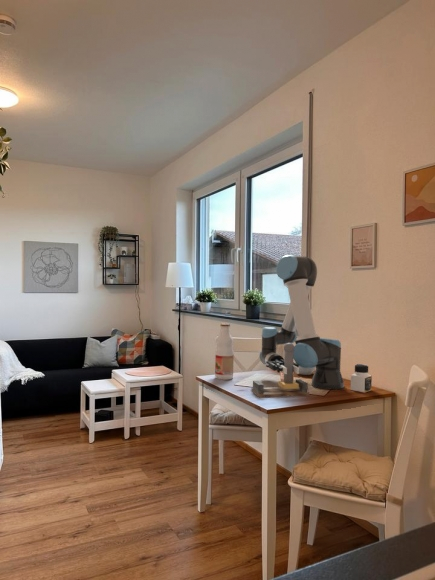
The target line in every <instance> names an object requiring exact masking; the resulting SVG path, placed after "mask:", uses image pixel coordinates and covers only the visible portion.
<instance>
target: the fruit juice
mask: <svg viewBox="0 0 435 580" xmlns="http://www.w3.org/2000/svg"><path fill="white" fill-rule="evenodd" d="M230 328H231V324H230V323H220V333H219V335H217V337H216V339H215V343H216V348H215V355H214V356H215V357H214V359H215V360H214V361H215V364H214V366H215V367H214V377H215V379H217V380H224V381H226V380H231V379H233V378H234V354H235V352H234V347H233V345H234V343H235V341H234V337H233V335H231V332H230V331H231V330H230Z"/></svg>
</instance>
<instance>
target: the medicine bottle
mask: <svg viewBox="0 0 435 580" xmlns="http://www.w3.org/2000/svg"><path fill="white" fill-rule="evenodd" d="M372 378H373V377H372V375H371V374H369V365H367V364H363V363H362V364H361V363H358V364H355V365H354V373H353V374H350V390H351V391H353V392H360V393H364V394H365V393H367V392H370V391H372Z"/></svg>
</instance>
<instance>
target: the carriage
mask: <svg viewBox="0 0 435 580" xmlns="http://www.w3.org/2000/svg"><path fill="white" fill-rule="evenodd" d="M283 345H284V346H283V351H284V358H283V359H284V367H286V368H287V374H284V373H283V380H278V381H277V386H278V387H281V388H283V389H299V384H298V383H296V382H295V381H294V372H293V362H294V358H293V356H294V349H295V347H294V346H295V345H294V343H286V344H283Z"/></svg>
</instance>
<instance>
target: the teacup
mask: <svg viewBox="0 0 435 580" xmlns="http://www.w3.org/2000/svg"><path fill="white" fill-rule="evenodd" d="M295 363H296V362H295ZM296 364H297V363H296ZM315 370H316V367H313V368H303V367H300V366H299V374H298V375H302V376H307V375H308V376H309V375H312V374H314V373H315Z"/></svg>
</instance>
